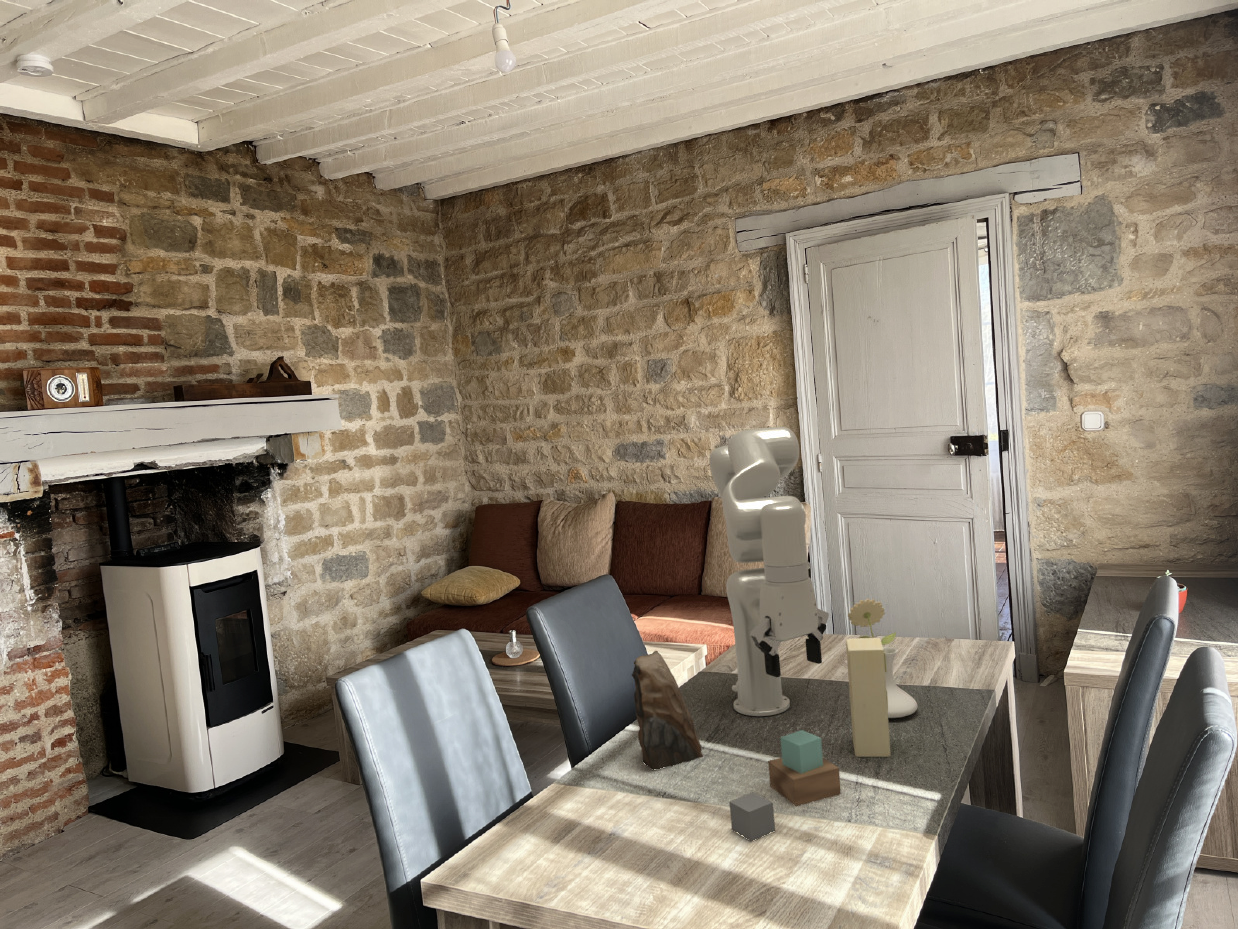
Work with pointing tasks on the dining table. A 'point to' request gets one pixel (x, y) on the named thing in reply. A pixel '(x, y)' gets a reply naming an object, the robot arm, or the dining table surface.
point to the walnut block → (804, 782)
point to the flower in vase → (897, 698)
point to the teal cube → (801, 751)
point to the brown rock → (662, 715)
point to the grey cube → (752, 816)
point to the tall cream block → (868, 697)
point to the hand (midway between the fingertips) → (794, 668)
